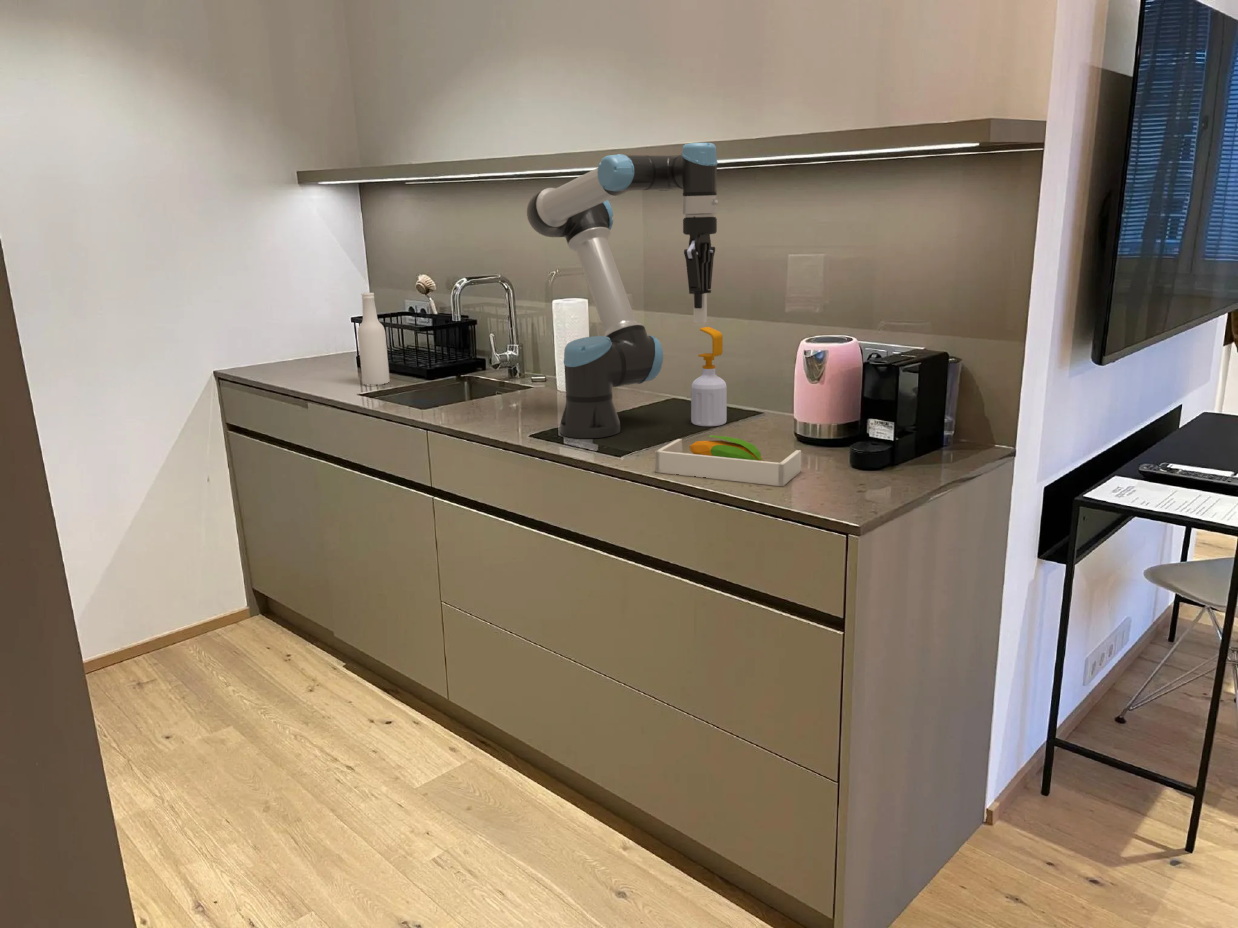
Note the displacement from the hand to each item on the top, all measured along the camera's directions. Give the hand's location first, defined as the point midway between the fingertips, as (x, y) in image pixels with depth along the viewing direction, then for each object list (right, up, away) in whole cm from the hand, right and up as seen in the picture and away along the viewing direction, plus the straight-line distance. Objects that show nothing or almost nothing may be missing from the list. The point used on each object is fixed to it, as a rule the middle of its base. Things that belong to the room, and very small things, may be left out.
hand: (700, 322), depth 214 cm
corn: (+3, -34, -16) cm, 38 cm away
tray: (+4, -34, -18) cm, 39 cm away
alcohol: (-99, -6, +96) cm, 139 cm away
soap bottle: (+5, -22, +27) cm, 35 cm away
